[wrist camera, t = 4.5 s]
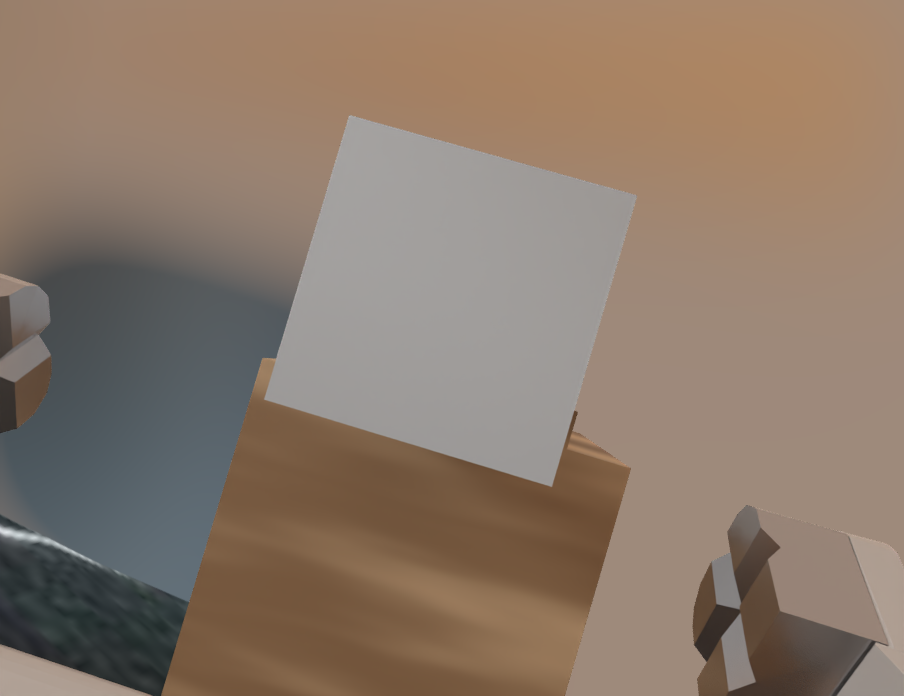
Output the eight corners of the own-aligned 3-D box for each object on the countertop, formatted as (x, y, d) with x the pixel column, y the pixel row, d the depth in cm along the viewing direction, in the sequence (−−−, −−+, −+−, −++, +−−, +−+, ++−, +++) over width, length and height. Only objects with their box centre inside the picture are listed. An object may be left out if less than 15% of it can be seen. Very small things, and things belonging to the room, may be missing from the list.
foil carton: (552, 486, 11) (637, 195, 12) (263, 398, 12) (348, 114, 12) (514, 415, 31) (545, 308, 31) (408, 383, 32) (439, 277, 32)
